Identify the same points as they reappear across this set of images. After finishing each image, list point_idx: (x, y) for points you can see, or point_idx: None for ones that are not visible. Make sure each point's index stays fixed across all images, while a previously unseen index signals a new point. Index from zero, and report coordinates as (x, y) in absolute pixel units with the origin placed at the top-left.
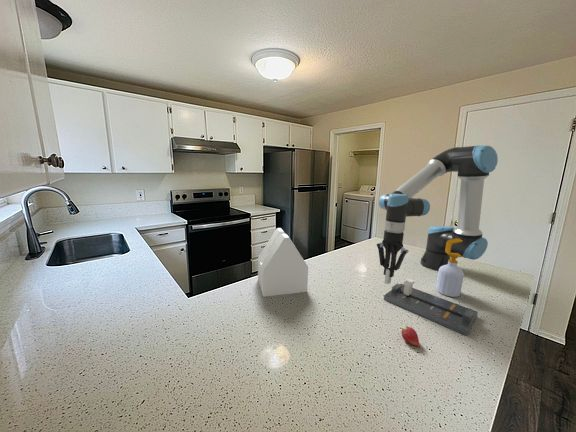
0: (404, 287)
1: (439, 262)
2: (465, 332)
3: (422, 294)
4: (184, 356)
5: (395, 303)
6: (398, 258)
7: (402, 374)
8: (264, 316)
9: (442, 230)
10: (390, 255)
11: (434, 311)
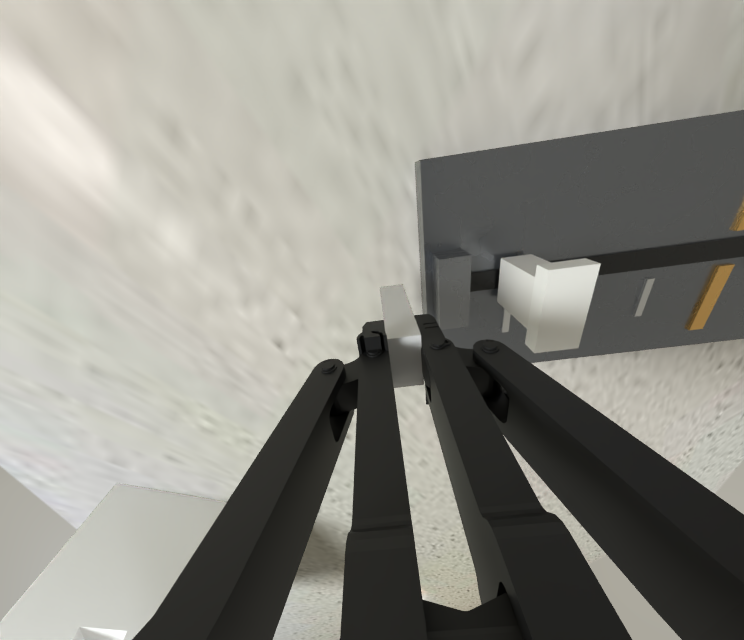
0: (518, 319)
1: None
2: None
3: (585, 188)
4: (339, 636)
5: None
6: (589, 531)
7: (577, 521)
8: (307, 583)
9: None
10: (404, 470)
11: (654, 314)
